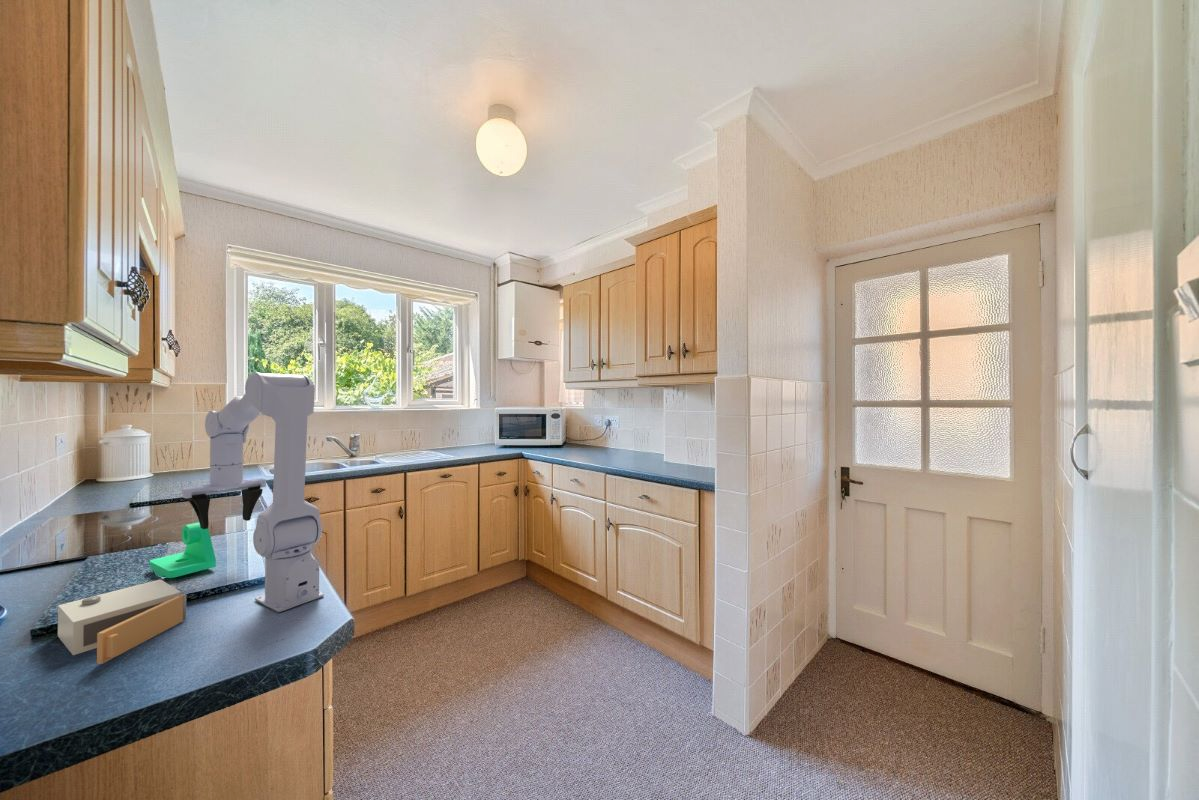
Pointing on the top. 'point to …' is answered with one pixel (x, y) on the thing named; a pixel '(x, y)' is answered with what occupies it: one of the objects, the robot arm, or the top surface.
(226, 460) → the robot arm
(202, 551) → the camera mount
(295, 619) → the top surface
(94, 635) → the housing
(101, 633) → the door
